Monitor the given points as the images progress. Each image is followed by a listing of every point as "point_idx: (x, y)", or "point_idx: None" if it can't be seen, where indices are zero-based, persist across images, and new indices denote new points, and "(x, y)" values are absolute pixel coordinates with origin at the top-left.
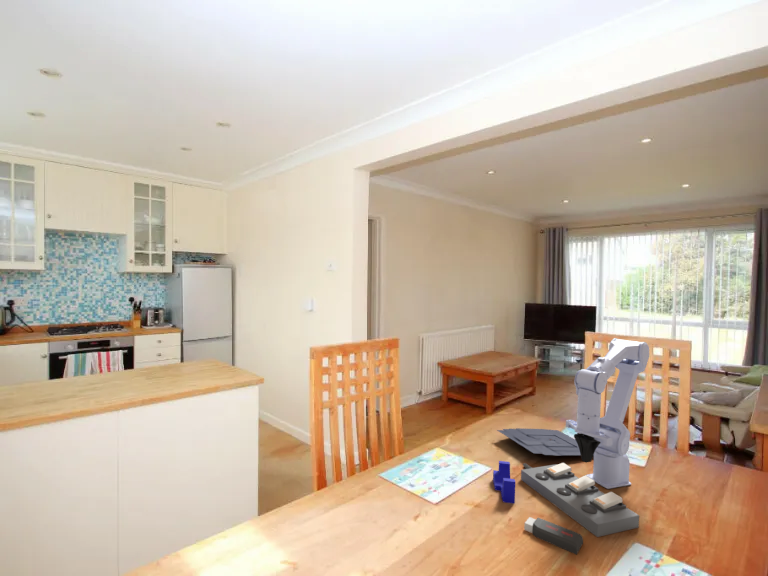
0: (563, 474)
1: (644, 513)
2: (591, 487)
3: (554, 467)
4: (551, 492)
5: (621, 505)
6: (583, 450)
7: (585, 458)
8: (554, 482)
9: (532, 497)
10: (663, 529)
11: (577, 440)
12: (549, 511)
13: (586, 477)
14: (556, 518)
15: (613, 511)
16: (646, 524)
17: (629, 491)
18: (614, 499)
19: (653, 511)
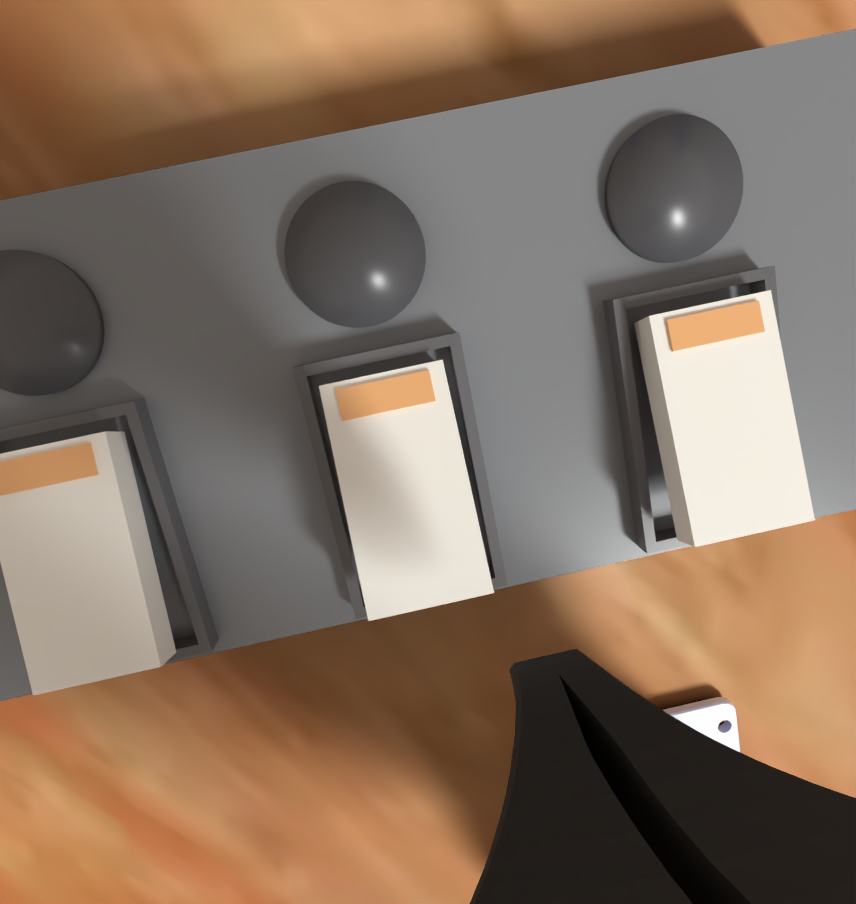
0: None
1: (199, 800)
2: None
3: (759, 379)
4: (378, 128)
5: None
6: (580, 759)
7: (518, 695)
8: (549, 269)
9: (473, 17)
10: (6, 799)
11: (822, 832)
12: (238, 54)
13: (453, 580)
14: (128, 57)
15: None
16: (62, 729)
17: None
18: (31, 613)
19: (223, 871)
